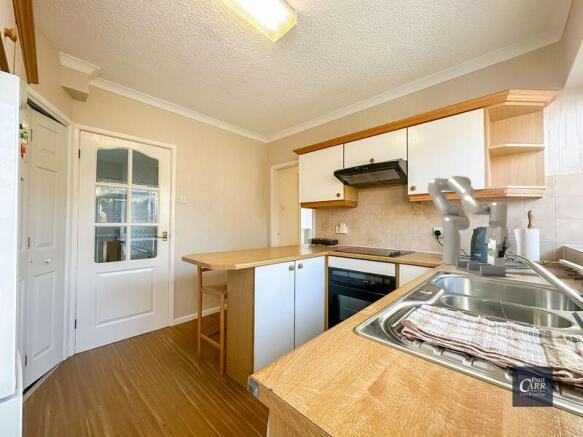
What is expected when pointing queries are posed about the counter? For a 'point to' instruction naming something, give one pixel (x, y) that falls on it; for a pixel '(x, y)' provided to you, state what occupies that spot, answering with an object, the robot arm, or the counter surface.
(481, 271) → the slot rack
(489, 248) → the syrup box
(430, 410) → the counter surface
